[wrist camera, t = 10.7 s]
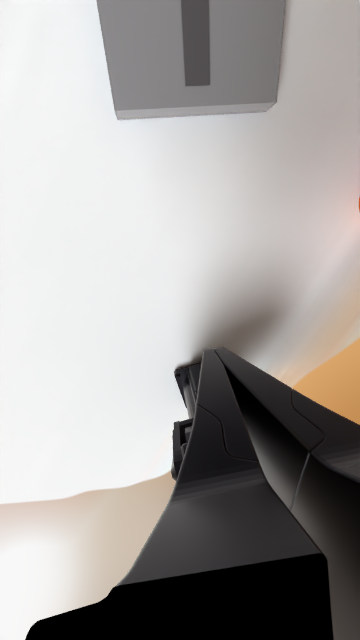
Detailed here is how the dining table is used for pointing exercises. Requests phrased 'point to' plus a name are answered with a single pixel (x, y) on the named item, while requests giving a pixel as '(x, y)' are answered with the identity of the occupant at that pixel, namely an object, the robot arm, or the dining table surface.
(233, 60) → the fader console
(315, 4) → the dining table surface
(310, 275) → the dining table surface
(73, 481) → the dining table surface
